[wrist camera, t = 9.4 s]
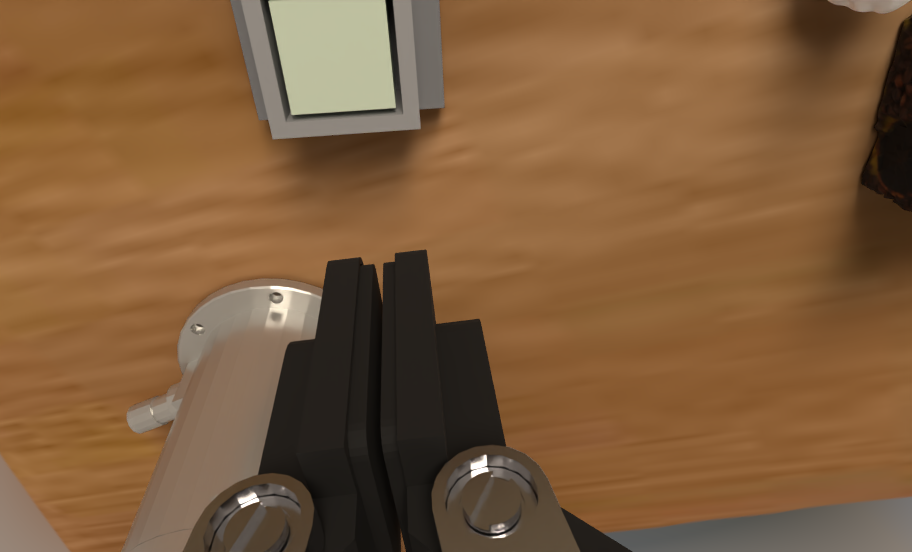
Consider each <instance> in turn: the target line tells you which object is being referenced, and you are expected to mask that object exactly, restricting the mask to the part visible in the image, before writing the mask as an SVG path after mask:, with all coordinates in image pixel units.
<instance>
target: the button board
mask: <svg viewBox="0 0 912 552" xmlns="http://www.w3.org/2000/svg"><path fill="white" fill-rule="evenodd" d="M230 1H231V5H232V9H233V13H234V17H235V22H236V26H237V30H238V34H239V38H240V43H241V47H242V51H243V55H244V59H245V63H246V68H247V72H248V76H249V80H250V84H251V88H252V93H253V97H254V101H255V105H256V109H257V114H258V118H259V120H268V121H269V125H270V129H271V134H272V138H273V139H285V138H299V137H313V136H328V135H342V134H356V133H370V132H385V131H399V130H413V129H421V126H420V112H419V109H433V108H445V107H444V87H443V67H442V47H441V27H440V6H439V0H387V6H388V16H389V27H390V37H391V47H392V58H393V68H394V78H395V95H396V108H388V109H373V110H358V111H343V112H329V113H314V114H299V115H292V114H291V109H290V104H289V99H288V95H287V90H286V85H285V80H284V75H283V70H282V65H281V60H280V56H279V51H278V46H277V41H276V36H275V31H274V26H273V21H272V16H271V12H270V7H269V2H268V1H269V0H230Z"/></svg>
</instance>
